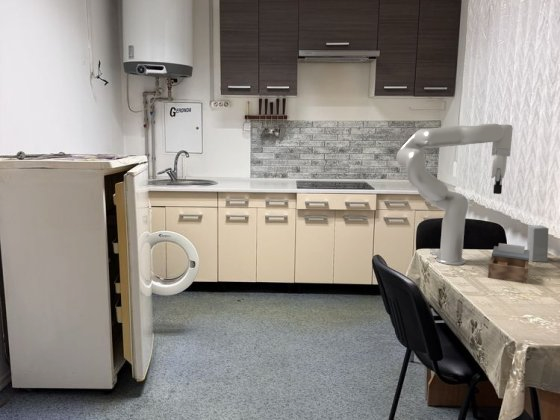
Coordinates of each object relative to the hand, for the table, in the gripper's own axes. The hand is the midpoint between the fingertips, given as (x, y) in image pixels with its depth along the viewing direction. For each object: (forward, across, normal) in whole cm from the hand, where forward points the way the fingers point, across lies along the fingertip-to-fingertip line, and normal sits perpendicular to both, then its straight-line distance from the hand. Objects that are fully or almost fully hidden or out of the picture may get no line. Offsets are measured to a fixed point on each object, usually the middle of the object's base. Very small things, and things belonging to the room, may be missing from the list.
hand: (497, 193), depth 203 cm
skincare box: (+31, -12, +18) cm, 38 cm away
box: (+31, +22, +8) cm, 39 cm away
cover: (+25, +9, +8) cm, 28 cm away
